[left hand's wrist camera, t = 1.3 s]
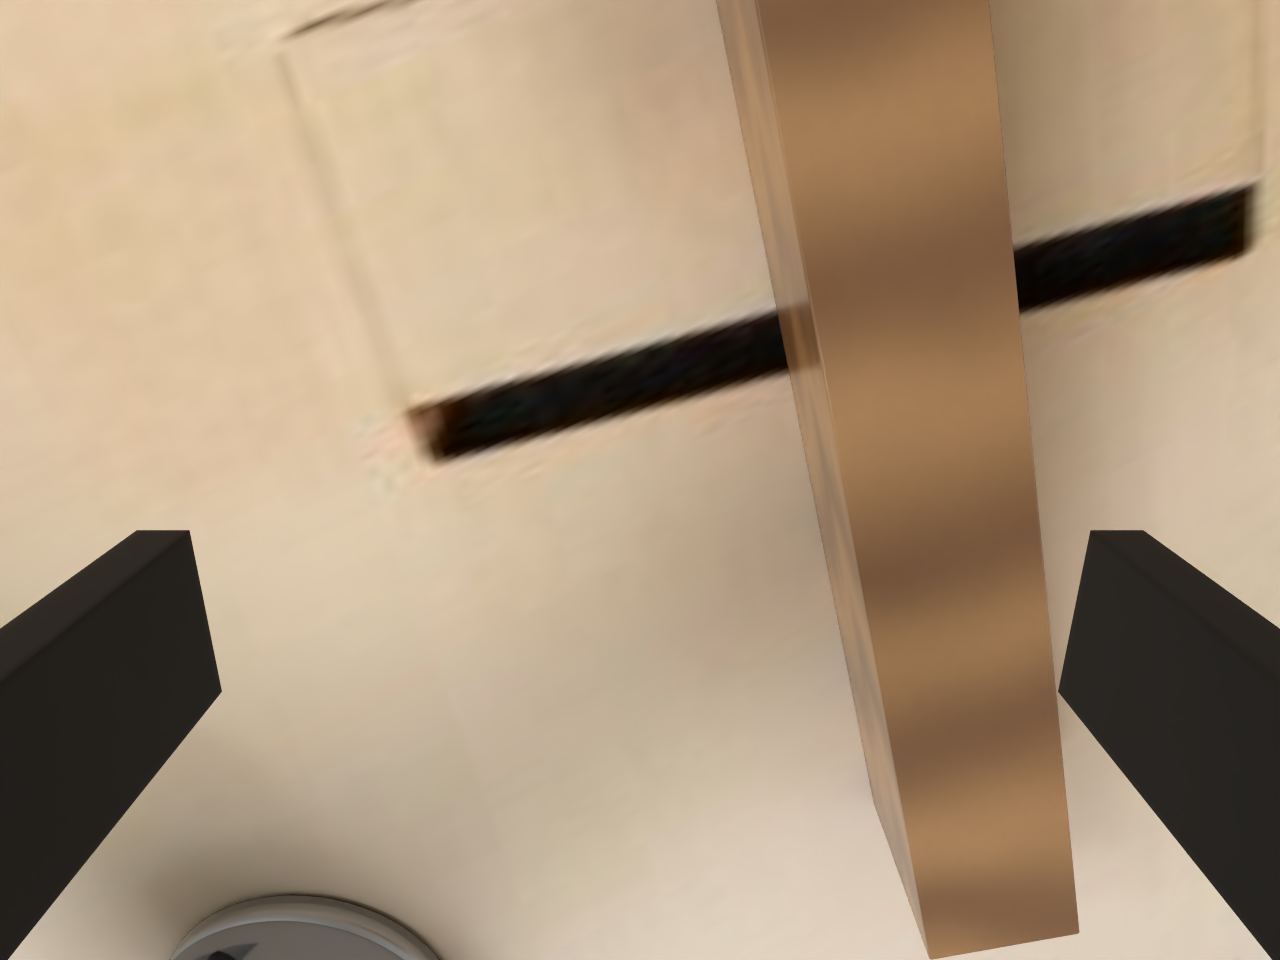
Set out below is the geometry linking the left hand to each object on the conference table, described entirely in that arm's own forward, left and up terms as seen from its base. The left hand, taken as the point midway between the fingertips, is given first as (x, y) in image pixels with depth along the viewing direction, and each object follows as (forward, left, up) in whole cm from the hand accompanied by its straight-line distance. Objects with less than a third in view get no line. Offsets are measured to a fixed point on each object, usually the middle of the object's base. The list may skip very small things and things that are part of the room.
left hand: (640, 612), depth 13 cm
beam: (+6, -6, -21) cm, 22 cm away
